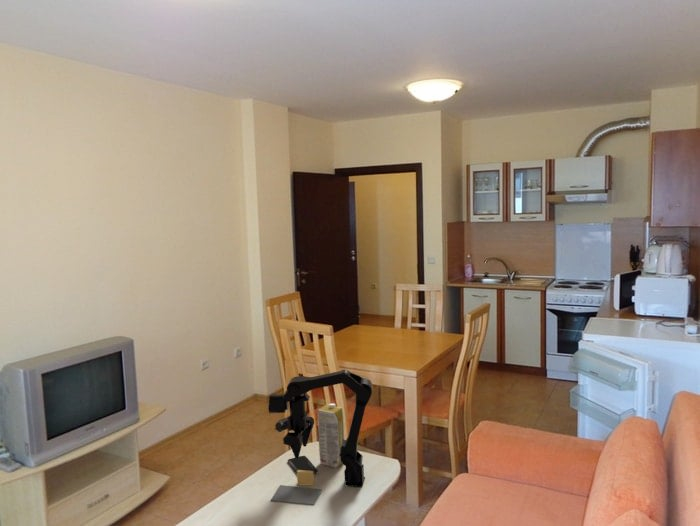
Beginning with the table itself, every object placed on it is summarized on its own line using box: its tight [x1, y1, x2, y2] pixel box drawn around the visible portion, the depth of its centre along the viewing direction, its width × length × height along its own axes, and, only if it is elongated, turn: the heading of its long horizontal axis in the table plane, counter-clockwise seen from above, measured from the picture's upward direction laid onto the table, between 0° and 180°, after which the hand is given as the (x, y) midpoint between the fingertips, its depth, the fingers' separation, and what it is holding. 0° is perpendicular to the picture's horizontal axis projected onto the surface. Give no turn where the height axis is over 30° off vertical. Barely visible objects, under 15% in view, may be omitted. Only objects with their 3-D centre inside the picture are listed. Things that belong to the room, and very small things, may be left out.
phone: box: [287, 455, 319, 475], centre depth 210 cm, size 8×1×15 cm
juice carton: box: [317, 403, 345, 469], centre depth 211 cm, size 9×8×24 cm
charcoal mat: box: [270, 484, 322, 506], centre depth 190 cm, size 16×10×1 cm, turn 78°
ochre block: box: [296, 470, 315, 486], centre depth 197 cm, size 6×2×5 cm, turn 78°
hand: (300, 452), depth 197 cm, fingers open, 9 cm apart
